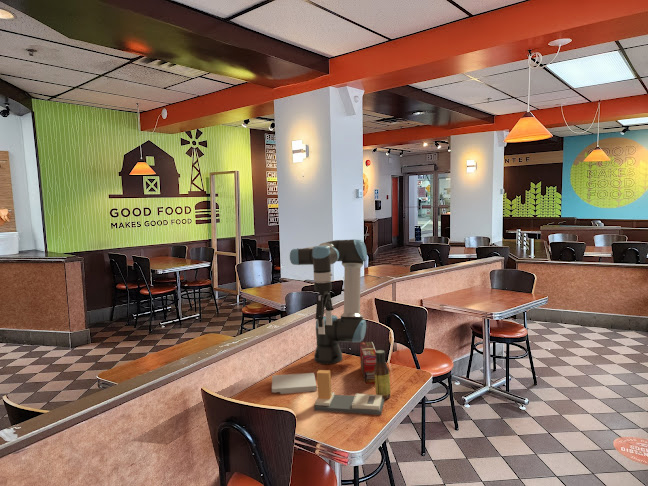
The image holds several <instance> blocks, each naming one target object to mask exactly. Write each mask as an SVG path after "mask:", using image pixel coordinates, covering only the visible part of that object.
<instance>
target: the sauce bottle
mask: <svg viewBox="0 0 648 486" xmlns="http://www.w3.org/2000/svg"><path fill="white" fill-rule="evenodd" d="M375 355H376V365H375V366H374V372H375V373H374V375H375V384H374V386H375V395H382V397H383V398H384V400H388V399H389V398H391V392H392V391H391V382H390V381H391V380H390V371H389V369H390V368H389V367H388V365H387V361H386V353H385V350H382V349H378V350H376V351H375Z"/></svg>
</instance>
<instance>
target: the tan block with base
mask: <svg viewBox="0 0 648 486" xmlns="http://www.w3.org/2000/svg"><path fill="white" fill-rule="evenodd" d="M331 382H332V378H331V370H326V369H325V370H324V369H318V371H317V372H316V385H317V396H318V397H317V398H316V399H315V401H314V406H315V405H322V406H330V404H331V402H332V400H333V398H334V396H335V395H336V392H334V391H333V392H332V383H331Z"/></svg>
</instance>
